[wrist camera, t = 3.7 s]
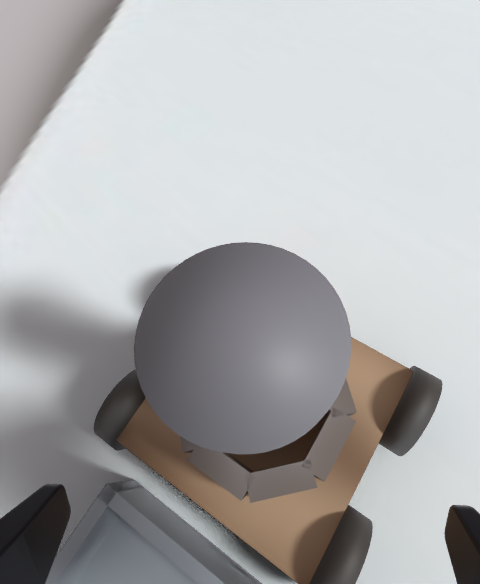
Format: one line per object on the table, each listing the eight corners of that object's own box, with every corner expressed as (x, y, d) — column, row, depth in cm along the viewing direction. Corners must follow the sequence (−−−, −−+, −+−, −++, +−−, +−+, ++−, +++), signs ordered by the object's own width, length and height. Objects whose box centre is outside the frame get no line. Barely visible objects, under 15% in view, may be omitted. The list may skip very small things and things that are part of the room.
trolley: (320, 599, 17) (334, 649, 13) (115, 438, 21) (68, 431, 16) (422, 387, 20) (462, 366, 16) (228, 279, 24) (215, 236, 19)
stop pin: (280, 479, 17) (277, 507, 7) (198, 421, 18) (91, 370, 8) (329, 390, 18) (389, 301, 8) (249, 342, 19) (213, 213, 9)
